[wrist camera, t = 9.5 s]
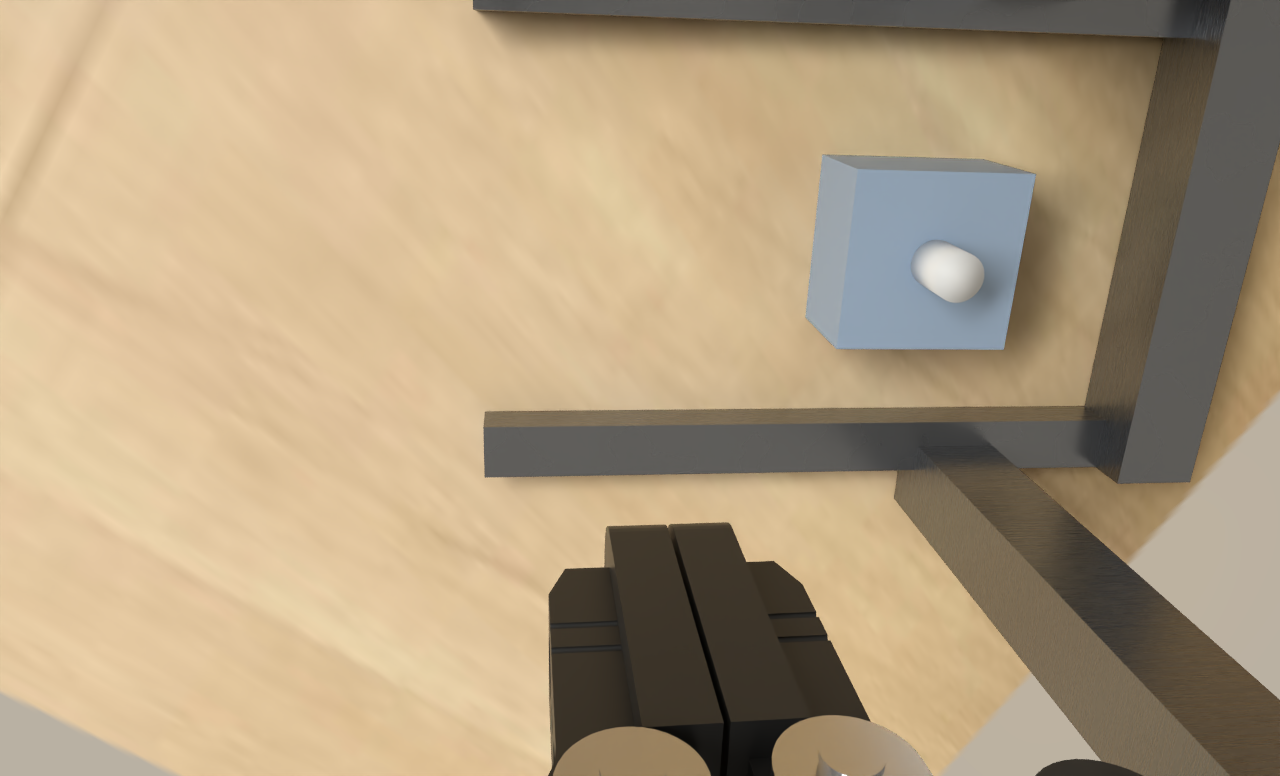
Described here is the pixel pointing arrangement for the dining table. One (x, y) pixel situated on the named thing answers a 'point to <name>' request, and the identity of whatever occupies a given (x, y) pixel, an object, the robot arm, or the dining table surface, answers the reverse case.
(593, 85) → the dining table surface
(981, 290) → the housing block
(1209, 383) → the press frame
